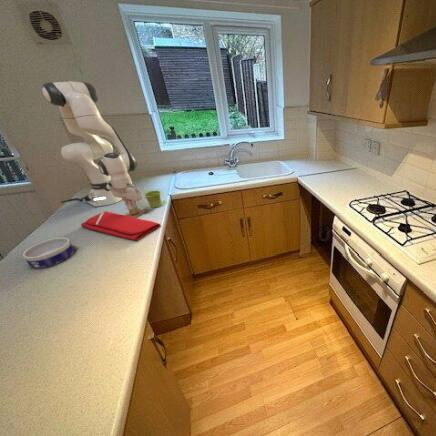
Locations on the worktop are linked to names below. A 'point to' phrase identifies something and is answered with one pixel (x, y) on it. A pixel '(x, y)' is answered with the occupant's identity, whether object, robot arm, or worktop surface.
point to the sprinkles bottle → (130, 205)
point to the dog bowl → (49, 253)
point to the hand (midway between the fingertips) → (131, 205)
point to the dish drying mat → (120, 225)
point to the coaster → (135, 214)
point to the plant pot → (153, 198)
